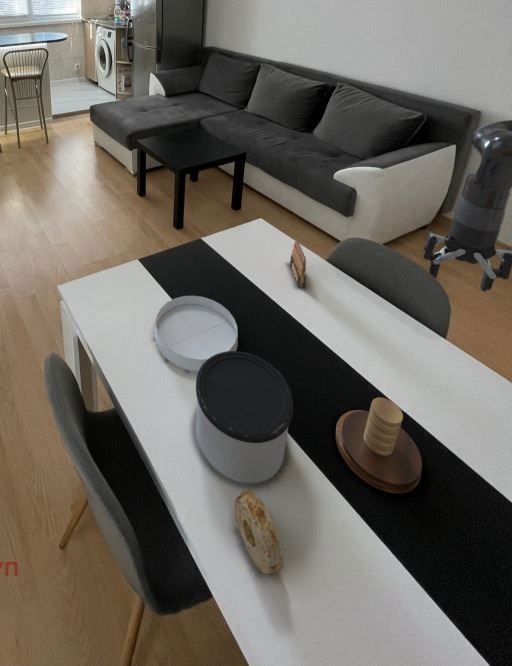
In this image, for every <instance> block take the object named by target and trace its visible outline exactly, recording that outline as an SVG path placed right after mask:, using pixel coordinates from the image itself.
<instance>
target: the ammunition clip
mask: <svg viewBox="0 0 512 666" xmlns="http://www.w3.org/2000/svg"><path fill="white" fill-rule="evenodd" d="M291 252H292V253H291V254H290V260H289V267H290V270H291V273H292V275H293V278H294V280H295V283H296V285H297V288H303V289H305V285H306V278H307V275H306V272H307V267H306V266H307V258H306V256H305V252H304V250H303V248H302V246H301V245H300V242H299V239H298V238H295V240H294V244H293V247H292V251H291Z"/></svg>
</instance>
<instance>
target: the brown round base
mask: <svg viewBox="0 0 512 666" xmlns="http://www.w3.org/2000/svg"><path fill="white" fill-rule="evenodd" d="M369 412H370V411H368V410H361V409H356V410H355V409H354V410H349V411H347V412H345V413H343V414H342V415H341V416H340V417H339V419H338V420H337V422H336V428H335V443H336V446H337V449H338V452H339V454H340V456H341V458H342V460H343V461H344V462H345V464H346V466H348V468H349V469H350V470H351V471H352V472H353V473H354V474H355V475H356V476H357V477H359V478H360V480H362V481H364V482H365V483H366V484H368V485H369V486H371V487H373V488H375V489H377V490H379V491H383V492H385V493H389V494H397V495H399V494H400V495H401V494H407V493H409V492H412V491H413V490H415V489H416V487H417V486H418V485H419V484H420V481H421V477H422V470H423V461H422V460H423V459H422V455H421V453H420V451H419V448H418V447H417V445H416V443H415V442H414V440H413V438H412V437H411V436H410V435H409V434H408V433H407V431H405V430H404V429H403V428H402V427H401V426H400V430H399V433H398V436H397V440H396V443H395V446H394V450H393V452H392V454H390V455H388V456H383V455H379V454H377V453H375V452H374V451H372V450H371V449H370V448H369V447H368V446H367V444H366V442H365V440H364V432H365V428H366V424H367V420H368V416H369Z"/></svg>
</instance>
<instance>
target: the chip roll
mask: <svg viewBox="0 0 512 666" xmlns="http://www.w3.org/2000/svg"><path fill="white" fill-rule="evenodd" d="M368 412H369V416H368V420H367V424H366V428H365V432H364V440H365V442H366V444H367V446H368V447H369V448H370V449H371V450H372V451H374V452H375V453H377V454H379V455H383V456H388V455H390V454H392V452H393V450H394V446H395V443H396V440H397V436H398V433H399V430H400V427H401V426H402V423H403V420H404V414H403V411H402V410H401V408H400V407H399V406H398V405H397V404H396V403H395V402H394V401H392V400H390V399H388V398H386V397H376V398H374V399H372V401H371V404H370V409H369V411H368Z"/></svg>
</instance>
